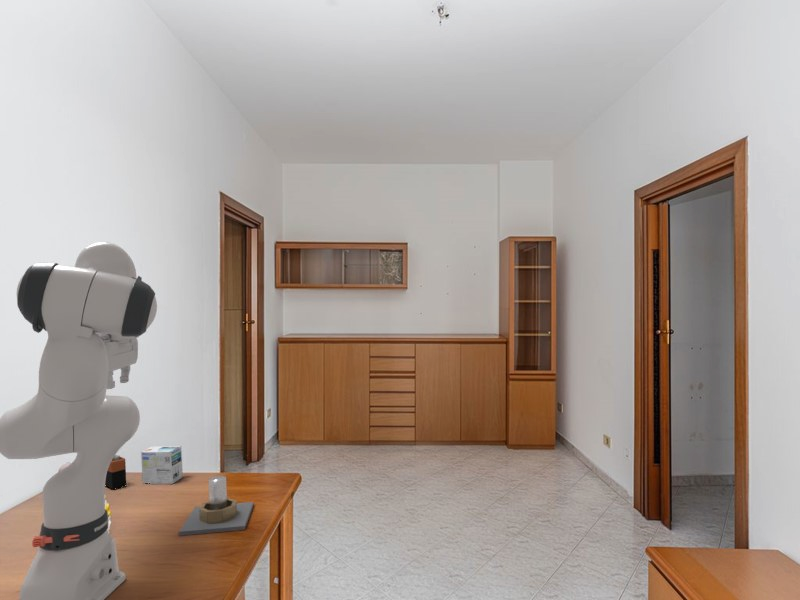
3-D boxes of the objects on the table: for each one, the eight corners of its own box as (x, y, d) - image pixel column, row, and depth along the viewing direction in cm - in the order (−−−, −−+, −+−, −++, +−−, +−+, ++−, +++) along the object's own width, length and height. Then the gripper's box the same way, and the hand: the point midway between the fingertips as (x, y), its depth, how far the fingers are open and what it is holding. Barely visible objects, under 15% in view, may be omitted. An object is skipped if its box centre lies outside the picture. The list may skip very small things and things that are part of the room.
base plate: (244, 529, 135) (244, 525, 135) (179, 535, 133) (179, 531, 133) (253, 505, 151) (253, 501, 151) (195, 510, 149) (195, 506, 149)
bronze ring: (232, 521, 138) (232, 509, 138) (197, 524, 137) (196, 512, 137) (238, 507, 147) (238, 497, 147) (205, 510, 146) (204, 499, 146)
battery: (112, 490, 167) (111, 459, 167) (103, 486, 171) (102, 455, 171) (127, 486, 170) (125, 455, 170) (117, 482, 175) (116, 452, 174)
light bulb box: (183, 477, 177) (182, 445, 177) (172, 484, 171) (171, 451, 171) (153, 477, 178) (151, 445, 178) (141, 484, 172) (140, 451, 172)
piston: (225, 518, 140) (224, 480, 140) (208, 520, 140) (206, 482, 140) (228, 511, 145) (227, 475, 144) (211, 513, 144) (210, 476, 144)
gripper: (112, 335, 130) (114, 391, 131) (141, 330, 151) (143, 379, 151) (84, 336, 130) (87, 393, 130) (117, 331, 150) (119, 380, 150)
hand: (117, 385), depth 140 cm, fingers open, 8 cm apart
